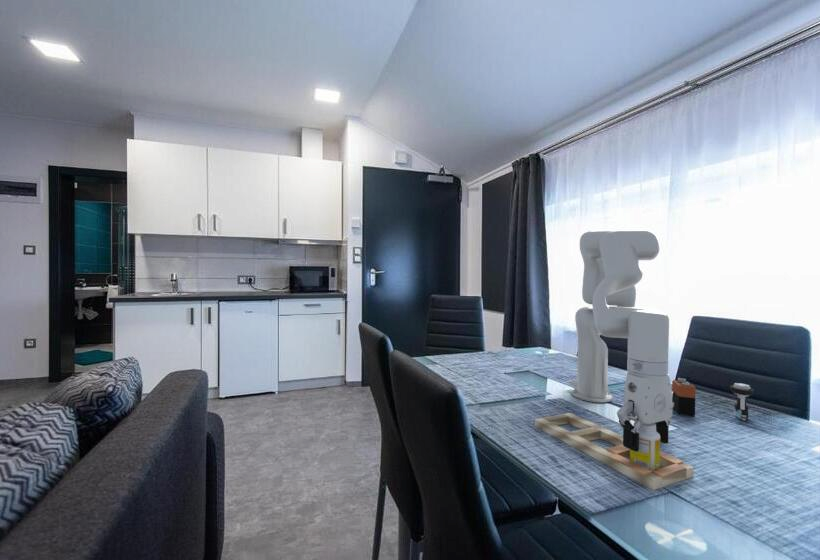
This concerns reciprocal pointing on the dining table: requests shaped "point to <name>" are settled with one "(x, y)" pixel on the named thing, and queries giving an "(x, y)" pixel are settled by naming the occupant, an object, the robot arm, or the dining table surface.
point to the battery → (683, 397)
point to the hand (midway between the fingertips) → (645, 444)
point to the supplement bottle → (647, 447)
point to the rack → (614, 451)
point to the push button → (741, 399)
